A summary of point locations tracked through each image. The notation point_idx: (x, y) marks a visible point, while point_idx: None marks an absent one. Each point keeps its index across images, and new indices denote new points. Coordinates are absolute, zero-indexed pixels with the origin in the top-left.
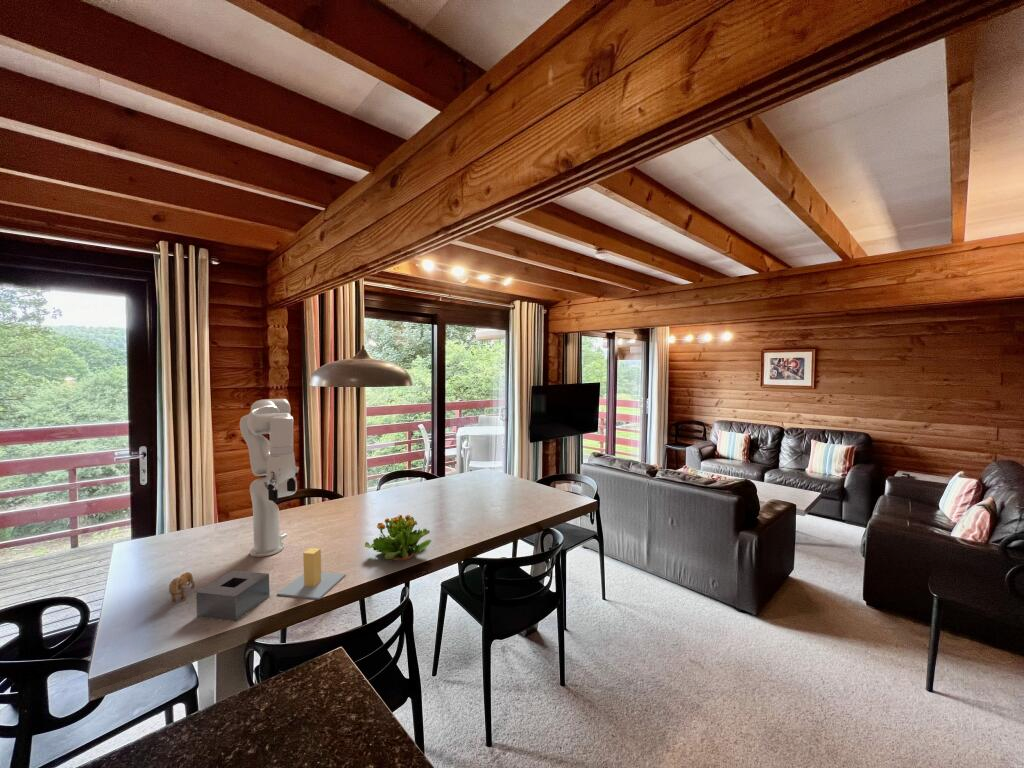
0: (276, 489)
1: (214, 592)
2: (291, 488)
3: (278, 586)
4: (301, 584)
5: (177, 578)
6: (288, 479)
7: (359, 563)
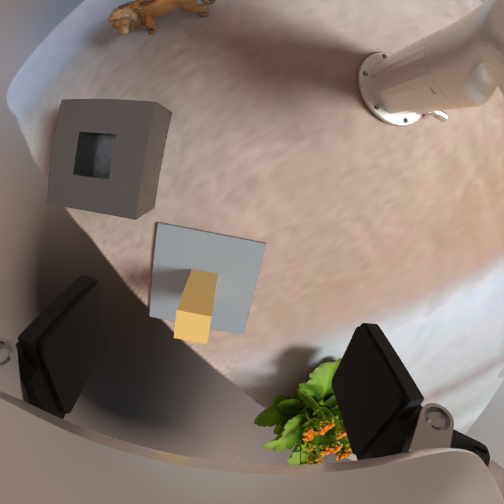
0: (57, 413)
1: (57, 142)
2: (348, 382)
3: (197, 204)
4: (197, 260)
5: (115, 13)
6: (412, 427)
7: (297, 339)
